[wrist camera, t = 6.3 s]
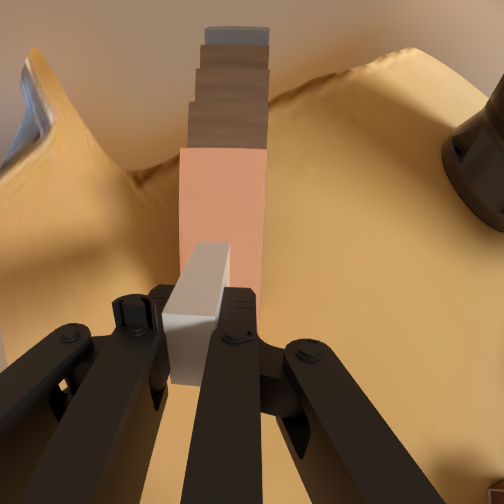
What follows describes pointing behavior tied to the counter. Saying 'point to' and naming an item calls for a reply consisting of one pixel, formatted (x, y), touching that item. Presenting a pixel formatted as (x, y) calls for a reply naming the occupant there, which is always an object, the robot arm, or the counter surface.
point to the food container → (496, 493)
